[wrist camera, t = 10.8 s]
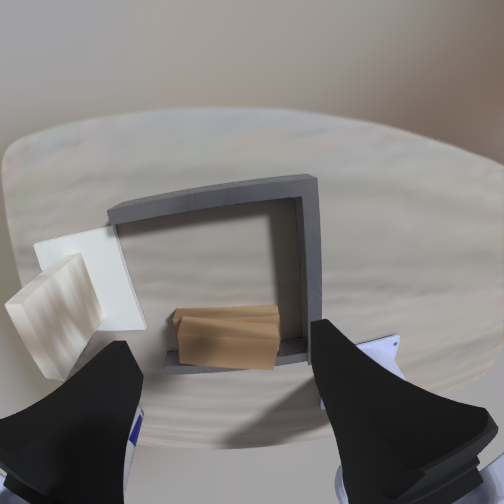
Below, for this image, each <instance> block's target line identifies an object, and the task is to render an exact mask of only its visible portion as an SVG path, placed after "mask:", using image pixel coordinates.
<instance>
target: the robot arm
mask: <svg viewBox="0 0 504 504" xmlns="http://www.w3.org/2000/svg"><path fill="white" fill-rule="evenodd" d="M310 337H311V364H312V369H313V373H314V377H315V381H316V385H317V387H318V390H319V393H320V395H321V404H320V407H321V409H322V410H325V409H326V412H327V414H328V417H329V420H330V422H331V425H332V428H333V431H334V434H335V437H336V442H337V446H338V450H339V455H340V459H341V465H340V466H339V467H338V470H337V473H336V477H335V491H336V495H337V498H338V500H339V502H340V504H504V452H503V453H502V454H501V455H500V456H499V457H497V458H496V459H495V460H494V461H492V462H491V463H490V464H488V465H487V466H486V467H485V468H483V469H482V470H481V471H478V469H477V467H476V466H478V465H479V464H480V461H479V459H478V457H477V455H478V454H479V453H480V452H481V451H482V450H483V449H484V448H485V447H486V446H487V445H488V444H489V443H490V442H491V441H492V440H493V438H494V437H495V436H496V434H497V433H498V426H497V425H496V423H495V422H494V420H493V419H492V417H491V416H490V414H489V413H488V411H487V410H486V409H485V408H482V407H477V406H472V405H468V404H464V403H459V402H456V401H453V400H450V399H447V398H444V397H441V396H438V395H436V394H433V393H431V392H428V391H426V390H424V389H422V388H420V387H417V386H415V385H413V384H411V383H409V382H407V381H406V379H405V377H404V376H403V374H402V372H401V371H400V369H399V368H398V366H397V364H396V363H395V361H394V360H395V356H396V353H397V349H398V345H399V341H400V337H399V335H397V334H396V335H392V336H389V337H385V338H381V339H378V340H374V341H370V342H366V343H362V344H358V345H355V344H353V343H352V342H351V341H350V340H349V339H348V338H347V337H346V336H345V335H343V334H342V333H341V332H340V331H339V330H338V329H337V328H336V327H335V326H334V325H333V324H332V323H331V322H330V321H329V320H327V319H322V320H317V321H311V322H310ZM142 384H143V374H142V372H141V370H140V368H139V366H138V364H137V362H136V360H135V359H134V357H133V355H132V353H131V350H130V348H129V346H128V344H127V342H126V341H113V342H111V343H110V344H109V345H107V346H106V347H105V348H104V349H103V350H102V351H100V352H99V353H98V354H97V355H96V356H95V357H94V358H93V359H91V360H90V361H89V362H88V363H87V364H86V365H85V366H84V367H82V368H81V369H80V370H79V371H78V372H77V373H76V374H74V375H73V376H72V377H71V378H70V379H68V380H67V381H66V382H65V383H64V384H63V385H61V386H60V387H59V388H57V389H56V390H55V391H54V392H52V393H51V394H49V395H48V396H46V397H45V398H43V399H42V400H40V401H38V402H36V403H35V404H33V405H32V406H30V407H28V408H26V409H24V410H22V411H20V412H18V413H16V414H13V415H11V416H8V417H6V418H3V419H0V468H1V469H2V470H4V471H5V472H6V473H7V476H6V477H5V476H3V475H2V474H1V473H0V504H124V495H123V479H124V464H125V455H126V447H127V443H128V438H129V435H130V431H131V427H132V424H133V421H134V417H135V414H136V410H137V407H138V403H139V400H140V396H141V390H142Z"/></svg>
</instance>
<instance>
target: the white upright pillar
mask: <svg viewBox="0 0 504 504" xmlns="http://www.w3.org/2000/svg"><path fill="white" fill-rule="evenodd" d="M5 307H6V309H7V311H8V313H9V315H10V317H11V319H12V321H13V323H14V325H15V327H16V329H17V331H18V333H19V335H20V336H21V338H22V340H23V342H24V344H25V345H26V347H27V349H28V350H29V352H30V354H31V355H32V357H33V359H34V360H35V362H36V363H37V365H38V366H39V368H40V370H41V371H42V373H43V374H44V375H45V377H46V378H49V379H55V380H61V381H65V380H66V378H67V376H68V375H69V373H70V371H71V369H72V368H73V366H74V364H75V363H76V361H77V359H78V358H79V356H80V354H81V353H82V351H83V350H84V348H85V346H86V345H87V343H88V342H89V340H90V339H91V337H92V335H93V334H94V332H95V331H96V329H97V328H98V326H99V325H100V323H101V322H102V320H103V319H104V317H105V315H104V313H103V311H102V308H101V306H100V303H99V301H98V298H97V296H96V293H95V290H94V288H93V285H92V282H91V280H90V277H89V274H88V271H87V268H86V265H85V262H84V259H83V256H82V253H81V252H78V253H72V254H67V255H63V256H62V257H61V258H59V259H58V260H57V261H55V262H54V263H53V264H52V265H50V266H49V267H48V268H47V269H45V270H44V271H43V272H42V273H40V274H39V275H38V276H37V277H35V278H34V279H33V280H32V281H31V282H29V283H28V284H27V285H26V286H25V287H23V288H22V289H21V290H20V291H19V292H18V293H17V294H16V295H14V296H13V297H12V298H11V299H10V300H9V301H8V302H7V303H6V304H5Z"/></svg>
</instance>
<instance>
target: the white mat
mask: <svg viewBox="0 0 504 504" xmlns="http://www.w3.org/2000/svg"><path fill="white" fill-rule="evenodd" d="M34 248H35V251H36V254H37V257H38V260H39V263H40V266H41V269H42V272H43V271H44V270H45V269H47V268H48V267H49V266H50V265H52V264H53V263H54V262H55V261H57V260H58V259H59V258H61V257H62V256H63V255H67V254H72V253H78V252H81V253H82V256H83V259H84V262H85V265H86V268H87V271H88V274H89V277H90V280H91V282H92V285H93V288H94V290H95V293H96V296H97V298H98V301H99V303H100V306H101V308H102V311H103V313H104V315H105V317H104V319H103V320H102V322H101V323H100V325H99V326H98V328H97V329H96V331H120V330H145V329H146V328H147V324H146V322H145V319H144V316H143V314H142V311H141V308H140V305H139V303H138V300H137V297H136V294H135V291H134V288H133V285H132V282H131V279H130V276H129V273H128V269H127V266H126V263H125V259H124V256H123V253H122V249H121V245H120V242H119V238H118V234H117V230H116V226H115V225H111V226H106V227H102V228H97V229H92V230H88V231H83V232H79V233H74V234H70V235H66V236H61V237H57V238H53V239H49V240H45V241H41V242H37V243H35V244H34Z"/></svg>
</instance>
